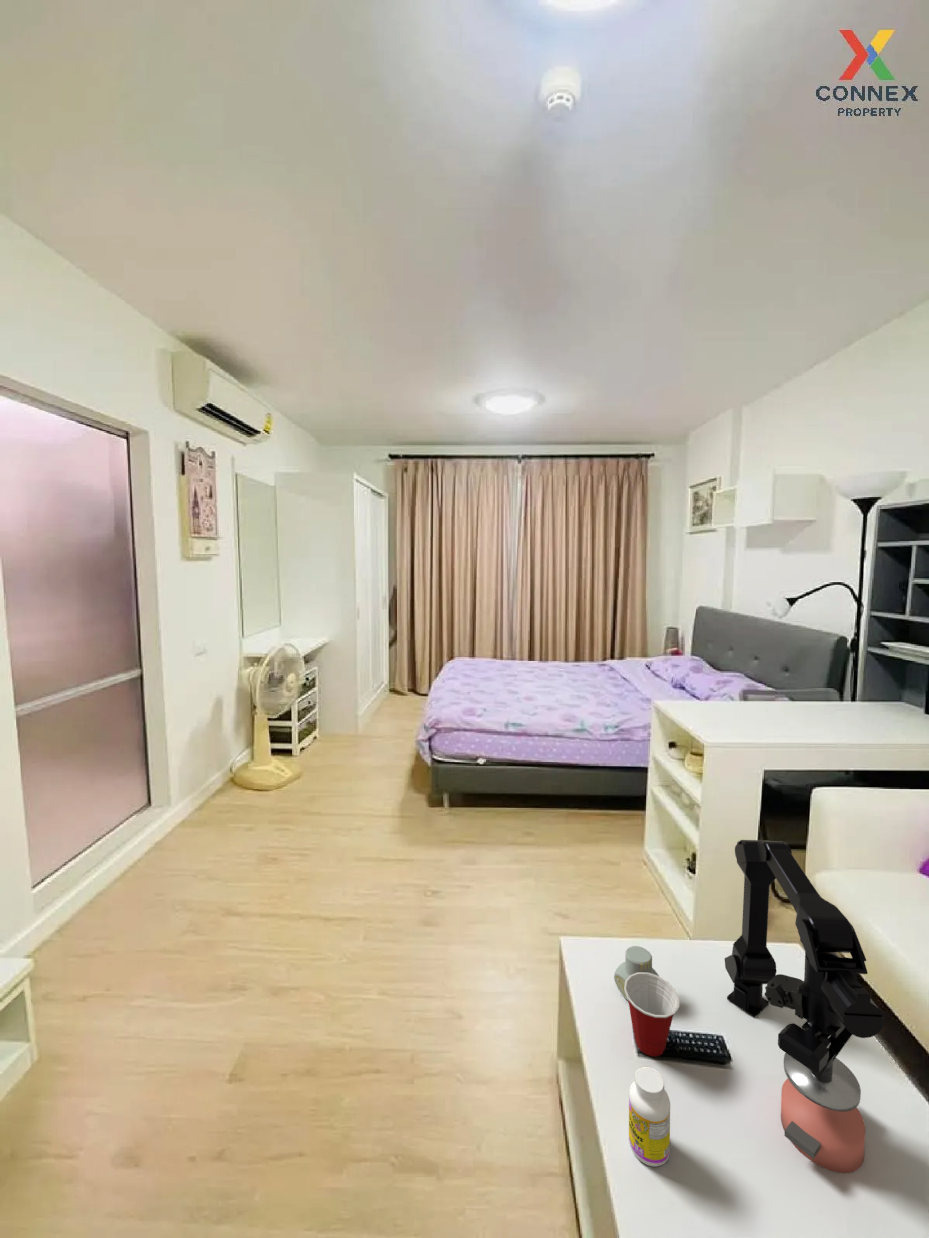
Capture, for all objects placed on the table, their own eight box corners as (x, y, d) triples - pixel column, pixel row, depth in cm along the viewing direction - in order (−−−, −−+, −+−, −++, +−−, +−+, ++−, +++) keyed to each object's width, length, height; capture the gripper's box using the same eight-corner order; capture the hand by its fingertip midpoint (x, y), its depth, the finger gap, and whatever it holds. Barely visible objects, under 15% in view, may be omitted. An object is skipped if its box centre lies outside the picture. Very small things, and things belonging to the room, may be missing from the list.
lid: (801, 1039, 99) (802, 1010, 98) (871, 1086, 90) (873, 1053, 89) (771, 1071, 93) (772, 1040, 92) (843, 1125, 84) (845, 1090, 83)
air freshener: (669, 1005, 120) (670, 964, 119) (640, 1018, 117) (640, 975, 116) (636, 972, 130) (636, 934, 129) (609, 983, 127) (609, 944, 126)
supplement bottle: (622, 1129, 94) (622, 1062, 93) (658, 1125, 94) (659, 1058, 93) (638, 1171, 87) (638, 1100, 86) (677, 1166, 88) (677, 1095, 87)
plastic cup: (656, 1079, 103) (657, 1022, 102) (612, 1039, 112) (612, 986, 111) (690, 1050, 109) (691, 996, 108) (646, 1014, 118) (646, 964, 117)
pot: (805, 1079, 102) (806, 1055, 101) (881, 1133, 92) (882, 1107, 92) (760, 1134, 92) (761, 1108, 92) (839, 1200, 83) (841, 1171, 82)
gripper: (799, 937, 102) (796, 1012, 103) (747, 980, 91) (745, 1063, 93) (868, 972, 92) (864, 1054, 94) (819, 1025, 82) (815, 1117, 84)
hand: (820, 1070), depth 91 cm, fingers closed on lid, 3 cm apart
